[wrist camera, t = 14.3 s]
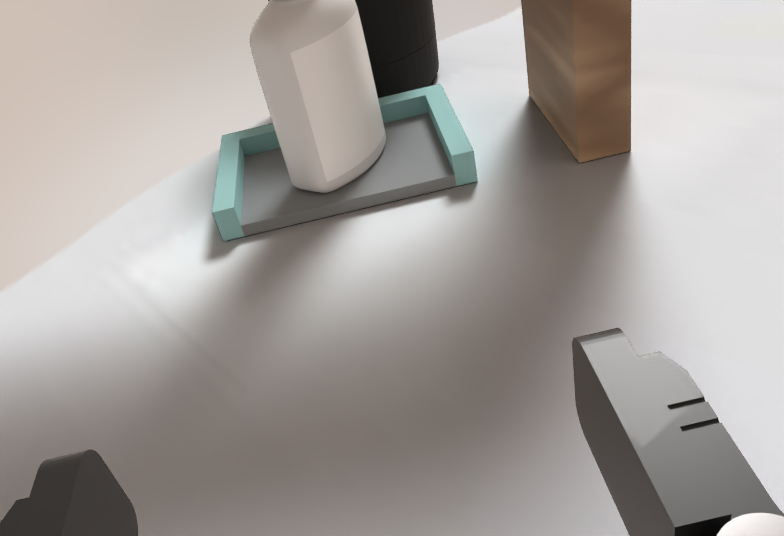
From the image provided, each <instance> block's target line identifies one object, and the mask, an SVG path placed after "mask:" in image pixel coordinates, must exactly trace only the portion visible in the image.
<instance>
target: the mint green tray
mask: <svg viewBox="0 0 784 536" xmlns="http://www.w3.org/2000/svg"><path fill="white" fill-rule="evenodd" d="M378 101H379V105H380V110H381V115H382V119H383V124H384V129H385V134H386V142H385V146H384V148H383V150H382V152H381V154H380V156H379V157H378V159H377V160H376V161H375V162H374V163H373V165H372V166H371V167H370V168H369V169H367V170H366V171H365V172H364V173H363V174H361V175H360V176H359V177H357V178H356V179H354V180H353V181H351V182H350V183H348V184H346V185H344V186H342V187H341V188H339V189H336V190H334V191H331V192H328V193H320V192H314V191H308V190H303V189H299V188H297V187H295V186H294V185H293V184H292V182H291V179H290V176H289V173H288V169H287V166H286V163H285V160H284V157H283V154H282V150H281V147H280V144H279V141H278V138H277V134H276V131H275V128H274V125H273V123H272V124H268V125H264V126H260V127H255V128H251V129H247V130H243V131H239V132H234V133H230V134H226V135H222V139H221V147H220V155H219V163H218V170H217V178H216V186H215V194H214V201H213V209H212V213H213V216H214V218H215V221H216V223H217V226H218V228H219V231H220V233H221V236H222V238H223V241H227V240H231V239H235V238H240V237H244V236H248V235H252V234H256V233H261V232H265V231H269V230H273V229H278V228H282V227H286V226H290V225H294V224H299V223H303V222H307V221H311V220H316V219H320V218H324V217H328V216H332V215H337V214H341V213H345V212H349V211H354V210H358V209H362V208H366V207H371V206H375V205H379V204H383V203H387V202H392V201H396V200H400V199H404V198H409V197H413V196H417V195H421V194H425V193H430V192H434V191H438V190H442V189H447V188H451V187H455V186H459V185H463V184H468V183H472V182H476V181H478V179H477V172H476V165H475V158H474V151H473V149H472V147H471V145H470V143H469V140H468V138H467V136H466V134H465V132H464V130H463V128H462V126H461V124H460V122H459V120H458V118H457V116H456V114H455V112H454V110H453V108H452V106H451V104H450V102H449V100H448V98H447V96H446V94H445V92H444V90H443V88H442V86H441V84H436V85H432V86H428V87H424V88H420V89H415V90H411V91H407V92H403V93H399V94H394V95H390V96H386V97H382V98H378Z"/></svg>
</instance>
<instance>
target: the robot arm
mask: <svg viewBox="0 0 784 536" xmlns="http://www.w3.org/2000/svg"><path fill="white" fill-rule="evenodd" d="M572 349H573V366H574V383H575V400H576V407H577V412H578V416H579V420H580V424H581V427H582V430H583V433H584V435H585V438H586V440H587V442H588V444H589V447H590V449H591V451H592V453H593V455H594V458H595V460H596V462H597V464H598V467H599V469H600V471H601V473H602V475H603V478H604V480H605V482H606V484H607V486H608V489H609V491H610V493H611V495H612V498H613V500H614V502H615V504H616V506H617V509H618V511H619V513H620V515H621V518H622V520H623V522H624V524H625V526H626V529H627V531H628V533H629V535H630V536H784V513H783V512H782V511H781V510H780V509H779V508H778V507H777V506H776V504H775V503H774V502H773V500H772V499H771V497H770V496H769V494H768V493H767V491H766V490H765V488H764V487H763V485H762V484H761V482H760V481H759V479H758V478H757V476H756V475H755V473H754V472H753V470H752V469H751V467H750V465H749V464H748V462H747V461H746V459H745V458H744V456H743V455H742V453H741V452H740V450H739V449H738V447H737V446H736V444H735V443H734V441H733V440H732V438H731V437H730V435H729V434H728V432H727V431H726V429H725V428H724V426H723V425H722V423H719V421H718V417H717V416H716V414H715V412H714V411H713V409H712V408H711V406H710V405H709V403H708V402H705V399H704V396H703V394H702V393H701V391H700V390H699V388H698V387H697V385H696V384H695V382H694V381H693V379H692V378H691V376H690V375H689V373H688V372H687V371H686V370H685V369H684V368H682V367H681V366H679V365H678V364H676V363H675V362H674V361H672V360H671V359H669V358H668V357H667V356H665V355H664V354H662V353H661V352H656V353H652V354H647V355H643V356H639V357H638V356H637V354H636V353H635V351H634V349H633V348H632V346H631V344H630V343H629V341H628V339H627V337H626V336H625V334H624V333H623V332H622V330H621V329H619V328H615V329H611V330H606V331H602V332H598V333H594V334H589V335H585V336H581V337H577V338H574V339H573V343H572ZM0 536H138V525H137V518H136V514H135V511H134V508H133V505H132V503H131V502H130V500H129V499H128V497H127V496H126V494H125V493H124V491H123V490H122V488H121V487H120V485H119V484H118V482H117V481H116V479H115V478H114V476H113V475H112V473H111V472H110V470H109V469H108V467H107V466H106V464H105V463H104V461H103V460H102V458H101V457H100V455H99V454H98V453H97V452H96V451H94V450H87V451H83V452H78V453H74V454H70V455H66V456H61V457H57V458H53V459H49V460H46V461H44V462H43V463H42V464H41V465H40V467H39V469H38V472H37V475H36V478H35V481H34V484H33V487H32V490H31V494H30V497H29V498H24V499H20V500H17V501H16V502H15V503H14V505H13V506H12V507H11V509H10V510H9V512H8V513H7V514H6V516H5V517H4V518H3V520H2V521H1V523H0Z"/></svg>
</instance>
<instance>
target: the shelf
mask: <svg viewBox="0 0 784 536" xmlns="http://www.w3.org/2000/svg"><path fill="white" fill-rule="evenodd" d="M521 3H522V15H523V26H524V38H525V50H526V62H527V73H528V85H529V95H530V97H531V98H532V99H533V101H534V102H535V103H536V105H537V106H538V107H539V109H540V110H541V112H542V113H543V114H544V116H545V117H546V118H547V120H548V121H549V123H550V124H551V125H552V127H553V128H554V129H555V131H556V132H557V133H558V135H559V136H560V138H561V139H562V140H563V142H564V143H565V144H566V146H567V147H568V149H569V150H570V151H571V153H572V154H573V155H574V157H575V158H576V159H577V161H578V162H579V163H581V162H586V161H590V160H594V159H598V158H602V157H607V156H611V155H615V154H619V153H624V152H628V151H631V0H521Z"/></svg>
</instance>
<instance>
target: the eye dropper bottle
mask: <svg viewBox="0 0 784 536" xmlns="http://www.w3.org/2000/svg"><path fill="white" fill-rule="evenodd" d="M250 46H251V51H252V56H253V59H254V63H255V66H256V69H257V73H258V77H259V80H260V83H261V86H262V89H263V93H264V96H265V99H266V102H267V106H268V109H269V112H270V115H271V119H272V122H273V125H274V128H275V131H276V134H277V138H278V141H279V144H280V147H281V150H282V154H283V157H284V160H285V163H286V166H287V169H288V173H289V176H290V179H291V182H292V184H293V185H294V186H295V187H297V188H299V189H303V190H308V191H314V192H320V193H328V192H331V191H334V190H336V189H339V188H341V187H342V186H344V185H346V184H348V183H350V182H351V181H353V180H354V179H356V178H357V177H359V176H360V175H361V174H363V173H364V172H365V171H366V170H367V169H369V168H370V167H371V166H372V165H373V163H374V162H375V161H376V160H377V159H378V157H379V156H380V154H381V152H382V150H383V148H384V146H385V142H386V134H385V129H384V124H383V119H382V115H381V110H380V105H379V101H378V96H377V92H376V87H375V83H374V78H373V73H372V69H371V64H370V60H369V55H368V51H367V46H366V42H365V37H364V33H363V29H362V24H361V20H360V16H359V12H358V8H357V5H356V2H355V0H270V1H269V3H268V4H267V5H266V6H265V8H264V9H263V10H262V12H261V13H260V15H259V16H258V18H257V20H256V22H255V24H254V26H253V28H252V31H251V35H250Z"/></svg>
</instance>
